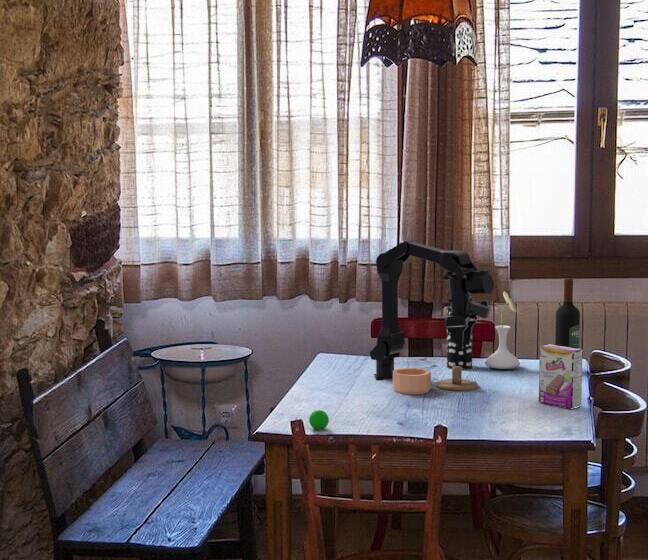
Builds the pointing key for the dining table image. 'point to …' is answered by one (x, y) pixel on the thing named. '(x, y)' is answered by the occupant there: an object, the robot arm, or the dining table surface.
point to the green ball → (318, 419)
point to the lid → (456, 382)
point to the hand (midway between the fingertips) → (464, 347)
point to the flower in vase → (503, 344)
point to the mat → (455, 391)
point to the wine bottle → (567, 320)
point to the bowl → (411, 380)
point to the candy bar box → (560, 376)
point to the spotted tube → (458, 351)
